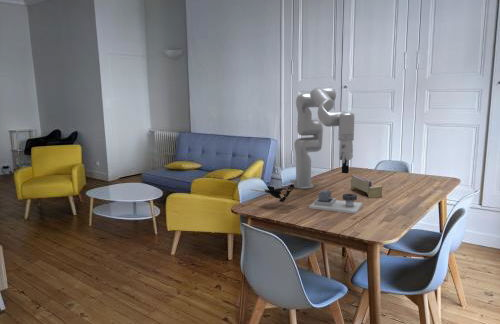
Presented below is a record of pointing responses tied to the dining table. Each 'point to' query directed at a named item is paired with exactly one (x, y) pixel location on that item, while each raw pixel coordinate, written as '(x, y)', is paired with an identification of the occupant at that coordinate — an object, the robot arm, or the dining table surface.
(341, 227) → the dining table surface
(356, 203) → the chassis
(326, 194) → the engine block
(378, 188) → the toy sofa
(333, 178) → the dining table surface
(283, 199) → the rocket toy
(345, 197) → the wheel
